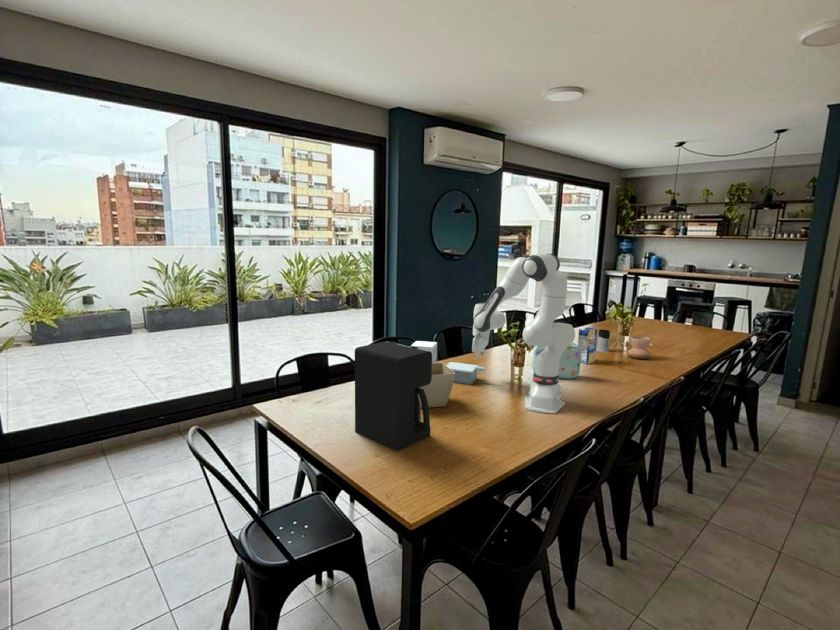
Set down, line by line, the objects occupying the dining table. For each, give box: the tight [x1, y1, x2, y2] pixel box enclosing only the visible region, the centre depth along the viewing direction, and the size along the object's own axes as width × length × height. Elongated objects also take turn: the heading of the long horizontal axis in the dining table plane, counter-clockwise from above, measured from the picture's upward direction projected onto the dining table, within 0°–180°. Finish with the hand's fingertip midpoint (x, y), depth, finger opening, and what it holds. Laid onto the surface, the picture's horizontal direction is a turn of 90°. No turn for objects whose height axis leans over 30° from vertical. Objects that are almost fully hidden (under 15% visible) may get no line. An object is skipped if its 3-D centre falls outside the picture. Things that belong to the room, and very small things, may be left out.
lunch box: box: [532, 341, 581, 380], centre depth 255 cm, size 27×10×21 cm, turn 84°
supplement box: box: [410, 340, 438, 363], centre depth 259 cm, size 13×13×18 cm
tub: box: [452, 370, 478, 386], centre depth 247 cm, size 12×16×7 cm
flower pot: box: [418, 362, 455, 409], centre depth 210 cm, size 19×19×17 cm
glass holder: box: [595, 329, 618, 353], centre depth 319 cm, size 9×14×15 cm, turn 40°
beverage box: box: [577, 326, 598, 365], centre depth 288 cm, size 7×11×22 cm, turn 131°
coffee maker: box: [354, 341, 432, 452], centre depth 172 cm, size 28×20×35 cm
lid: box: [445, 361, 486, 373], centre depth 245 cm, size 13×22×2 cm, turn 67°
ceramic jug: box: [625, 335, 653, 360], centre depth 303 cm, size 18×14×14 cm
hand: (479, 356), depth 241 cm, fingers open, 8 cm apart
